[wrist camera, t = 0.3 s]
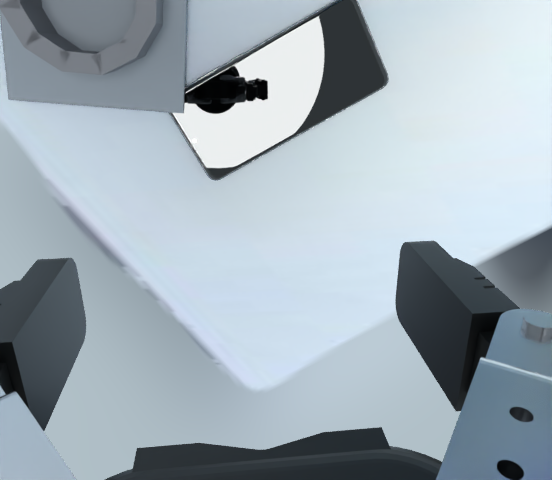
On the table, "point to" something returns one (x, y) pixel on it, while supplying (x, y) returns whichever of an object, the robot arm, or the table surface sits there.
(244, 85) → the smartphone
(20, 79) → the square flange plate
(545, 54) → the table surface
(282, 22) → the table surface
